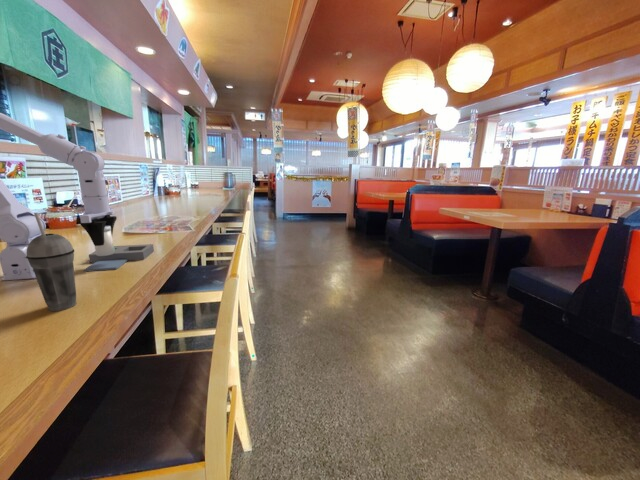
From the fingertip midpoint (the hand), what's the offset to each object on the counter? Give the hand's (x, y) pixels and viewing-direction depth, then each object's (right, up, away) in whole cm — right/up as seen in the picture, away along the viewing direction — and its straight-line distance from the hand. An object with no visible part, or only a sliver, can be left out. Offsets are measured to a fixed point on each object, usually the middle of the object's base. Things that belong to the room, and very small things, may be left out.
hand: (103, 243), depth 86 cm
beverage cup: (+9, -13, -24) cm, 29 cm away
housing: (-1, -4, +11) cm, 12 cm away
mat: (0, -7, +2) cm, 7 cm away
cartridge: (0, -3, +1) cm, 3 cm away
